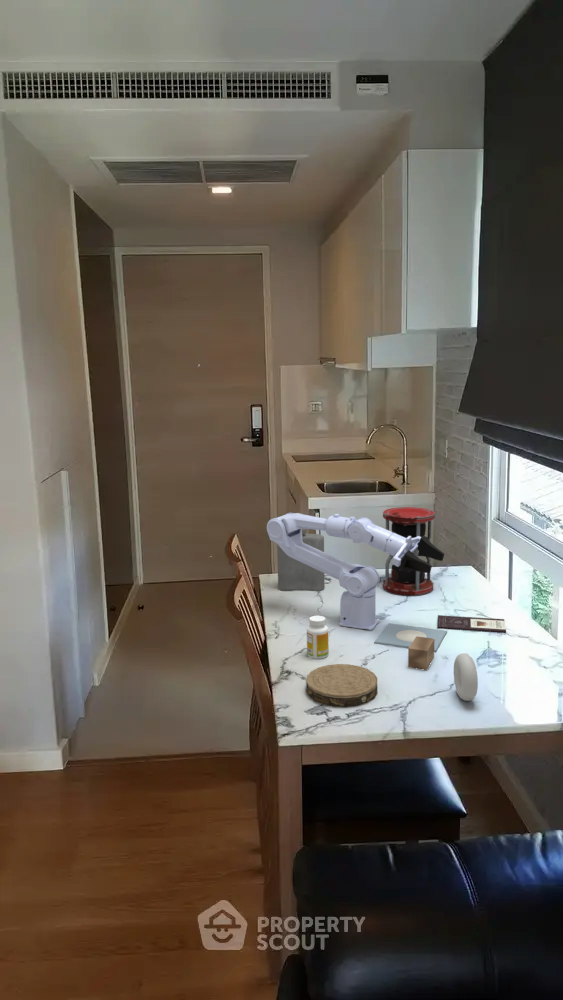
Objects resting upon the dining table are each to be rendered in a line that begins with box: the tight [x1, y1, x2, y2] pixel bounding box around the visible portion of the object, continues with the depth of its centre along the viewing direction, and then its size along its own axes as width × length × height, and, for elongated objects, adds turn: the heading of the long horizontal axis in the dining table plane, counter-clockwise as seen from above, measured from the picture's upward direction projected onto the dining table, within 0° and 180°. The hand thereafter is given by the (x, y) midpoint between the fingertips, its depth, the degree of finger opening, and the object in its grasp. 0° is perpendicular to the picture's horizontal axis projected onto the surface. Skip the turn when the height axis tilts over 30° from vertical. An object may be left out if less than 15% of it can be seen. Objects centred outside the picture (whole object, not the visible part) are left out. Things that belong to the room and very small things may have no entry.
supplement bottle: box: [306, 615, 330, 660], centre depth 177 cm, size 5×5×10 cm
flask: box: [276, 528, 326, 592], centre depth 228 cm, size 15×6×20 cm, turn 86°
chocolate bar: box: [436, 614, 507, 634], centre depth 195 cm, size 9×1×18 cm
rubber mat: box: [373, 622, 448, 653], centre depth 187 cm, size 16×14×1 cm
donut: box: [453, 653, 479, 702], centre depth 153 cm, size 10×4×10 cm, turn 1°
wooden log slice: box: [305, 663, 378, 708], centre depth 159 cm, size 16×16×3 cm
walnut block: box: [407, 636, 435, 671], centre depth 172 cm, size 4×8×5 cm, turn 156°
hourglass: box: [382, 506, 436, 597], centre depth 225 cm, size 16×16×25 cm
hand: (437, 563), depth 182 cm, fingers open, 7 cm apart
